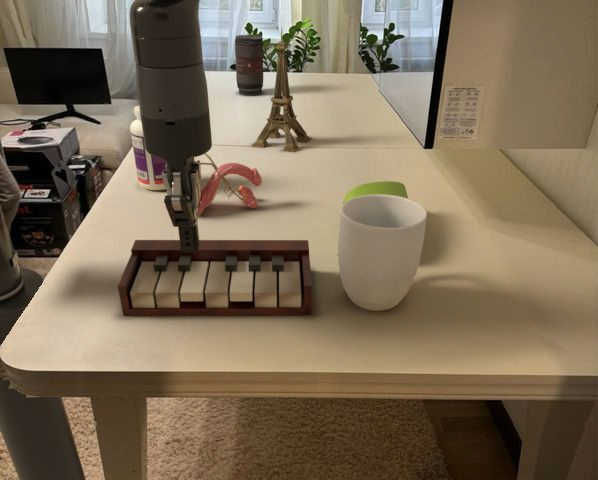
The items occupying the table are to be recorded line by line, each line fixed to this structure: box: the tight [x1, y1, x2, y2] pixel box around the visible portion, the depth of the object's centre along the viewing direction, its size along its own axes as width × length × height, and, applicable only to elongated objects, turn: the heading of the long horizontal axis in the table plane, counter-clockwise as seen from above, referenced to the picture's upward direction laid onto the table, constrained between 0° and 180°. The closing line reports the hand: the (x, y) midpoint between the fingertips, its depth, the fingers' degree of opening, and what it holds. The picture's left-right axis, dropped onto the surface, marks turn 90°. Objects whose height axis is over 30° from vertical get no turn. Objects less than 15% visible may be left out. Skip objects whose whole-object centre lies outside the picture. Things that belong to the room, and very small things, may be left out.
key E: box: [180, 261, 209, 301], centre depth 81 cm, size 3×8×1 cm, turn 2°
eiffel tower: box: [251, 28, 312, 153], centre depth 131 cm, size 11×11×25 cm
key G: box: [230, 261, 254, 301], centre depth 81 cm, size 3×8×1 cm, turn 2°
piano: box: [117, 239, 313, 317], centre depth 82 cm, size 25×12×5 cm, turn 92°
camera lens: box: [234, 34, 265, 96], centre depth 172 cm, size 8×8×15 cm
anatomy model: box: [194, 153, 263, 216], centre depth 105 cm, size 10×14×15 cm
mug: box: [337, 194, 428, 312], centre depth 80 cm, size 15×11×13 cm
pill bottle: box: [129, 104, 167, 191], centre depth 112 cm, size 8×8×14 cm
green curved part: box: [341, 180, 409, 206], centre depth 97 cm, size 8×12×20 cm
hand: (190, 249), depth 76 cm, fingers closed
